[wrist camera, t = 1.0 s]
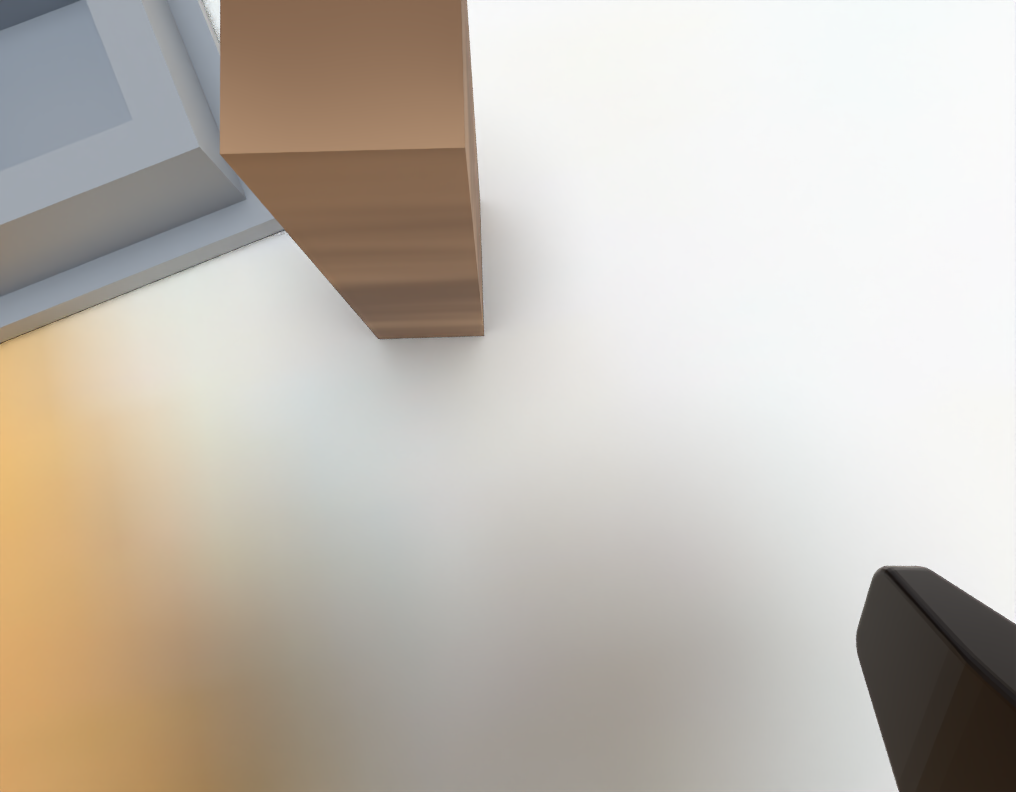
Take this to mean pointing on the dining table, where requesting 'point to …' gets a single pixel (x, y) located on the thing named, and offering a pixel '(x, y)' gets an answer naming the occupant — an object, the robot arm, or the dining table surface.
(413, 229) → the brown wooden block
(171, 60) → the end cap
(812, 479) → the dining table surface
